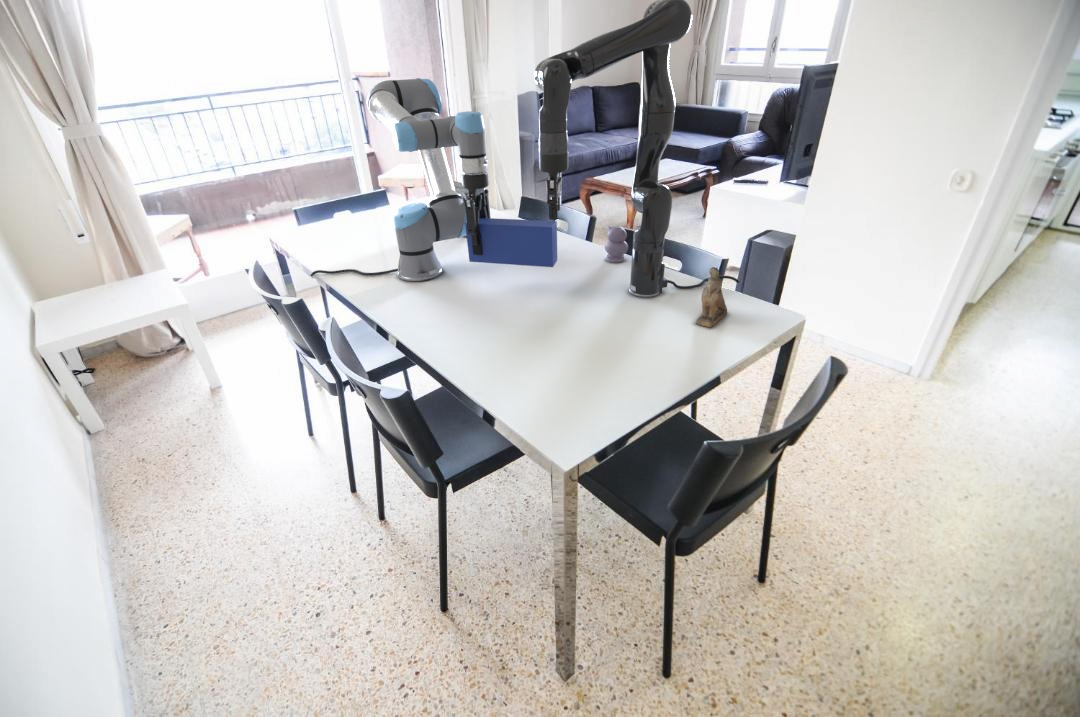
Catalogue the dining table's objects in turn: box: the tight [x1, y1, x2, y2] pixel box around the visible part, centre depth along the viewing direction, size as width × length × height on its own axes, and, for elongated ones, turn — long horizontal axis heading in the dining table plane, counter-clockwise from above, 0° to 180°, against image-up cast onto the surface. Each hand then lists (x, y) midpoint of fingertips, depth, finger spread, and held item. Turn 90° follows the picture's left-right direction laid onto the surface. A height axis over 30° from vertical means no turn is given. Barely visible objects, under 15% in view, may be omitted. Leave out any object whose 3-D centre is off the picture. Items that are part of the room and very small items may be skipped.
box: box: [465, 217, 558, 268], centre depth 149 cm, size 27×6×12 cm, turn 75°
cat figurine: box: [604, 225, 629, 264], centre depth 178 cm, size 9×8×12 cm
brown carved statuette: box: [695, 266, 728, 328], centre depth 135 cm, size 12×6×18 cm, turn 136°
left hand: (481, 250), depth 153 cm, fingers closed on box, 6 cm apart
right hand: (554, 214), depth 134 cm, fingers open, 8 cm apart
